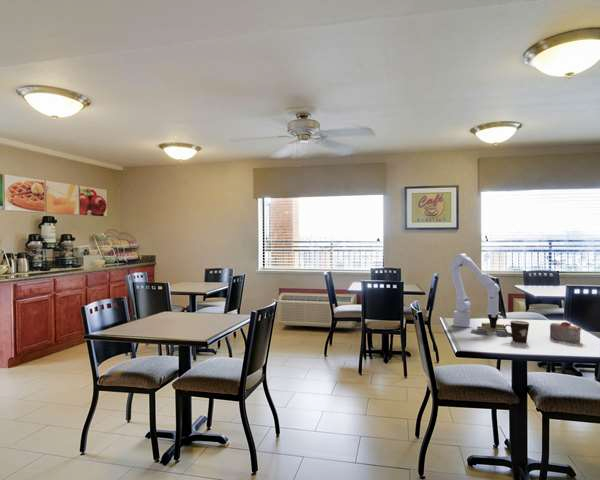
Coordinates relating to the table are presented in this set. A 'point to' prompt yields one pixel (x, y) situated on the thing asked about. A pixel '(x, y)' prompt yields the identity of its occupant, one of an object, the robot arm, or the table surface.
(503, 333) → the right chain end
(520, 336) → the coffee mug
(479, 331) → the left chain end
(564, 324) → the food item
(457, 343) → the table surface
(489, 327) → the tan wooden beam
